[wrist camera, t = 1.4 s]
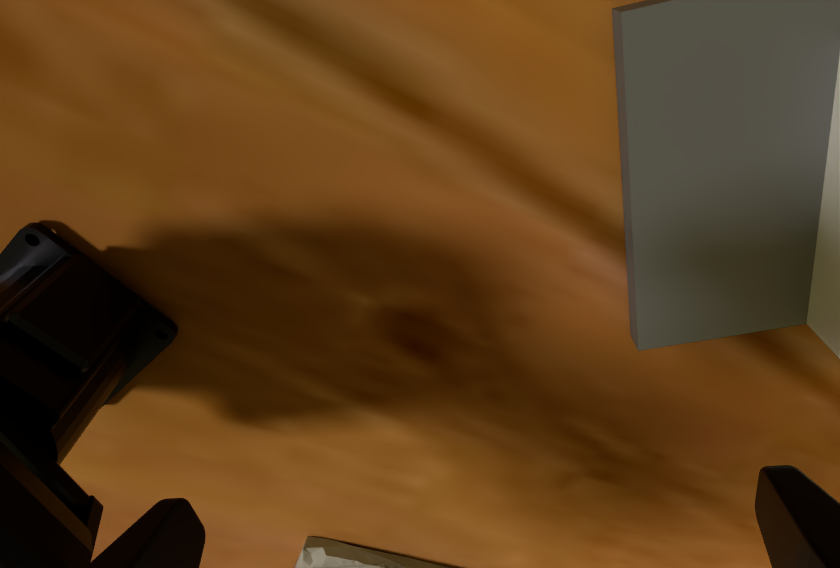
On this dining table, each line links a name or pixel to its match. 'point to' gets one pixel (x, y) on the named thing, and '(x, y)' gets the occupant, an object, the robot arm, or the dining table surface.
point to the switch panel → (730, 167)
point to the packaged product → (351, 557)
